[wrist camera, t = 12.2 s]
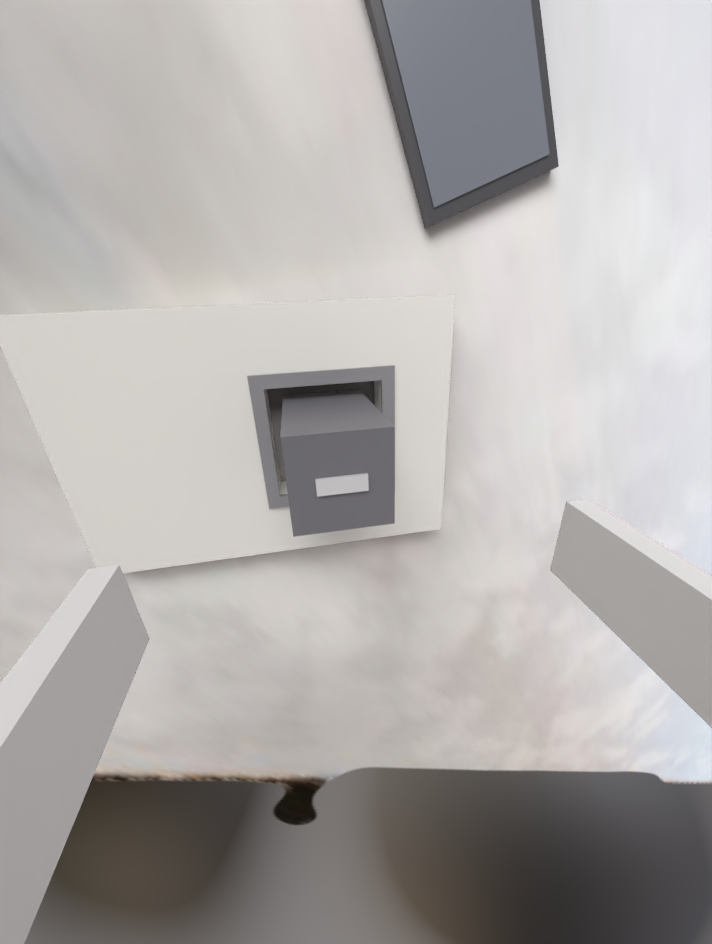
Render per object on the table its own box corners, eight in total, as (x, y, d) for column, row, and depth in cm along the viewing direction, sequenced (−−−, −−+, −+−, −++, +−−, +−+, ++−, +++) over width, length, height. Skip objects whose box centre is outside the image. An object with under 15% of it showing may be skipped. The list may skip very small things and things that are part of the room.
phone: (421, 230, 21) (429, 225, 20) (314, -168, 15) (316, -210, 14) (544, 173, 21) (559, 165, 20) (489, -252, 15) (506, -301, 14)
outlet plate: (112, 558, 26) (96, 579, 24) (15, 315, 19) (-18, 315, 17) (431, 515, 29) (442, 531, 27) (441, 296, 22) (457, 293, 20)
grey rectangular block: (291, 465, 25) (293, 539, 17) (283, 394, 23) (279, 438, 15) (361, 458, 26) (395, 525, 18) (358, 389, 24) (396, 427, 16)
